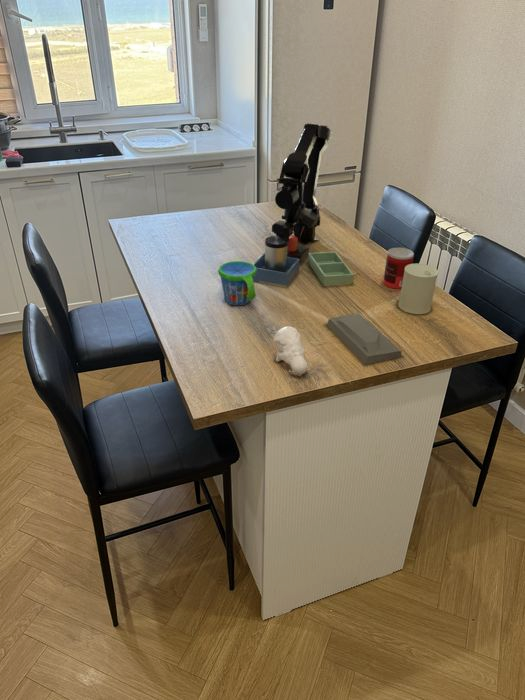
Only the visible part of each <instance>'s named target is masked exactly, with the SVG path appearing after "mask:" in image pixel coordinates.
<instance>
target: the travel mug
mask: <svg viewBox="0 0 525 700" xmlns="http://www.w3.org/2000/svg"><path fill="white" fill-rule="evenodd" d="M287 245H288V239H287V238H285V237H282V236H276V235H269V236H267V237H265V239H264V253H265V269H267V270H273V271H279V272H284V273H286V264H287Z"/></svg>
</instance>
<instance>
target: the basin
mask: <svg viewBox="0 0 525 700" xmlns="http://www.w3.org/2000/svg"><path fill="white" fill-rule="evenodd" d="M252 264H253V265H254V266H255V267H256V269H257V273H256V275H255V277H254V283H259V284H260V283H261V282H263V283H268V284H274V285H279V286H285V287H288V286H289V285H290V283H291V282H292V280H293V279H294V278H295V277H296V276H297V274H298V273H299V272H300V265H301V264H300V259H298V258H292V257H287V264H286V273H284V272H279V271H273V270H267V269H265V252H263V253H262V254H261V255H260V256H259V257H258V258H257V259H256V260H255V261H254V263H252Z"/></svg>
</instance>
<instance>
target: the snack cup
mask: <svg viewBox="0 0 525 700" xmlns="http://www.w3.org/2000/svg"><path fill="white" fill-rule="evenodd" d="M253 264H254V263H251V262H248V261H243V260H234V261H228V262H225V263H222V264H221V265H220V266H219V267H218V270H217V273H218V275H219V277H220V281H221V287H222V292H223V296H224V301H225V302H226V303H227V304H229V305H231V306H245V305H247V304H248V303H249V302H251V301H253V300H254V299H255V298H256V297H257V296H256V294H257V293H256V290H255V289H256V288H255V282H254V277H255V275H256V273H257V269H256V267H255V266H254V265H253Z"/></svg>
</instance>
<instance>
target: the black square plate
mask: <svg viewBox="0 0 525 700" xmlns="http://www.w3.org/2000/svg"><path fill="white" fill-rule="evenodd" d="M308 253H310V246H309V245H304V244H297V250H296V251H292V252H291V251H287V257H292V258H298V259H300V265H301V264H302V263H303V262H304V260H305V259H306V258H308Z"/></svg>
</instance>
